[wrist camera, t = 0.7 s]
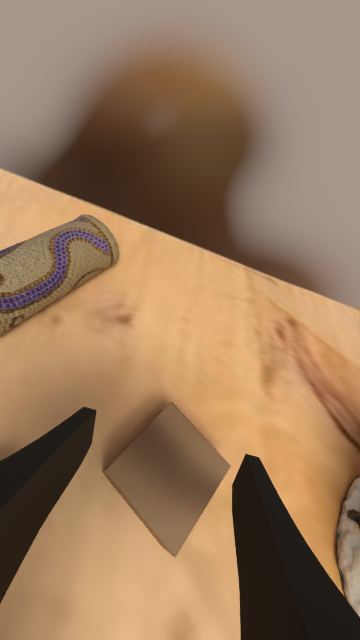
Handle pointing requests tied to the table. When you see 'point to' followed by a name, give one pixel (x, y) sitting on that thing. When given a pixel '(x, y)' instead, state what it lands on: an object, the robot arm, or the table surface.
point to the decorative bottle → (52, 267)
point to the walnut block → (168, 476)
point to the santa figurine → (350, 545)
